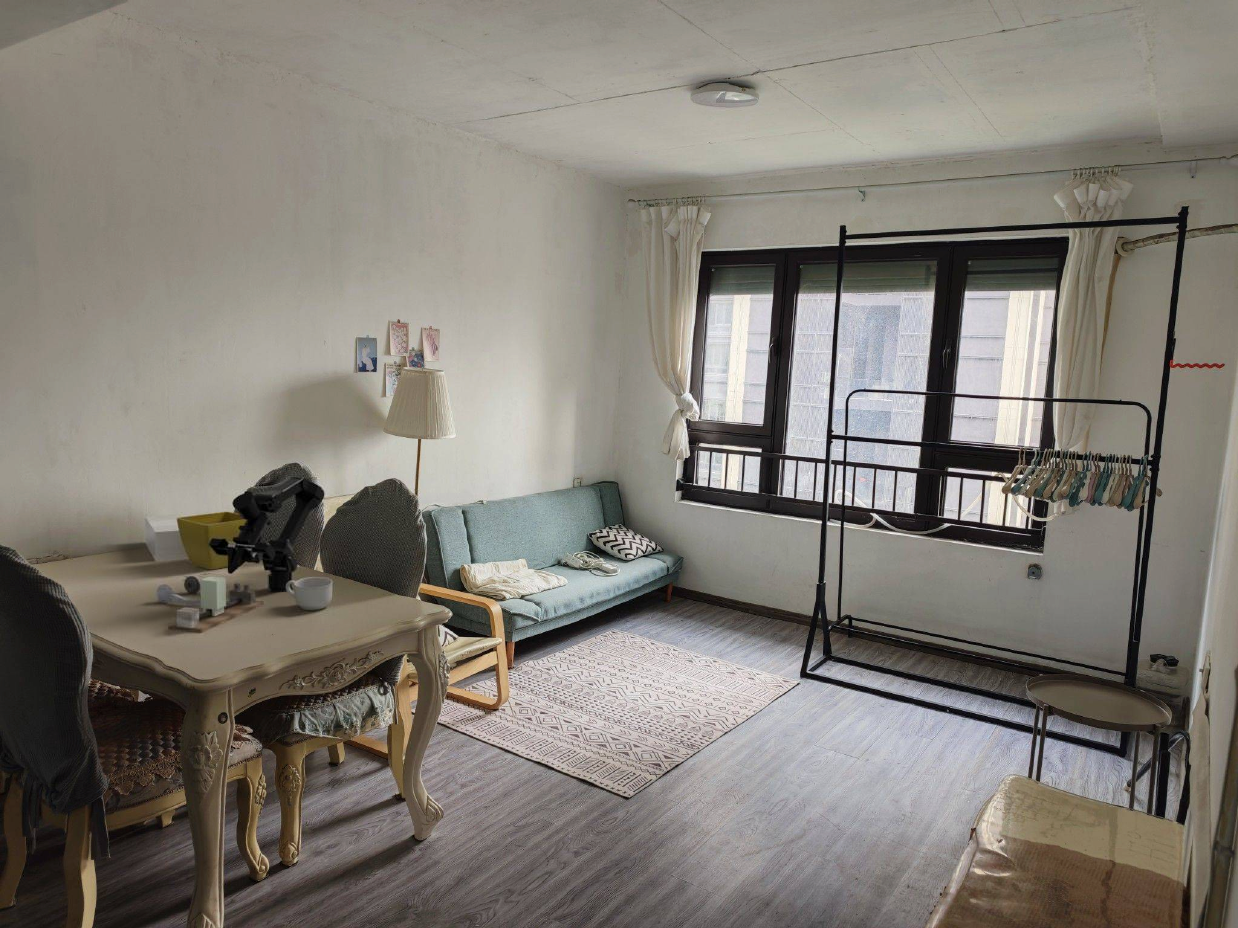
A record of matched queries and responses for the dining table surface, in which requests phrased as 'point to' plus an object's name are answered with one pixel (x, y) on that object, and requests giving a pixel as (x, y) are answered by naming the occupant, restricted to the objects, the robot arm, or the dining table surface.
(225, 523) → the flower pot
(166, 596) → the headphones
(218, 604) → the pale green box
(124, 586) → the dining table surface
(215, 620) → the cord board
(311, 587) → the teacup
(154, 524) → the white rectangular box
